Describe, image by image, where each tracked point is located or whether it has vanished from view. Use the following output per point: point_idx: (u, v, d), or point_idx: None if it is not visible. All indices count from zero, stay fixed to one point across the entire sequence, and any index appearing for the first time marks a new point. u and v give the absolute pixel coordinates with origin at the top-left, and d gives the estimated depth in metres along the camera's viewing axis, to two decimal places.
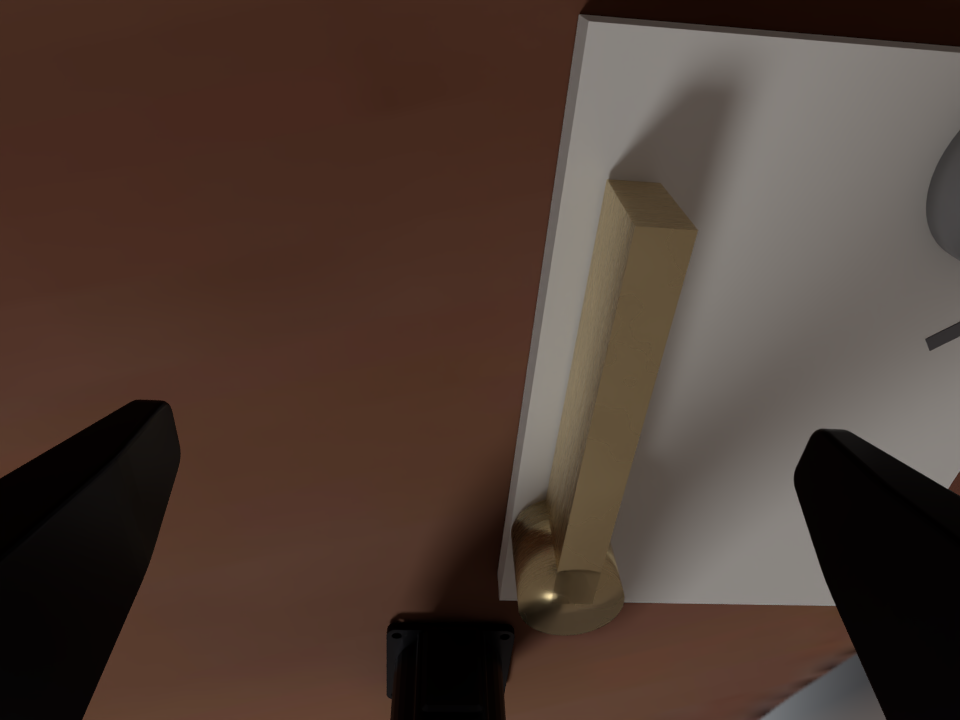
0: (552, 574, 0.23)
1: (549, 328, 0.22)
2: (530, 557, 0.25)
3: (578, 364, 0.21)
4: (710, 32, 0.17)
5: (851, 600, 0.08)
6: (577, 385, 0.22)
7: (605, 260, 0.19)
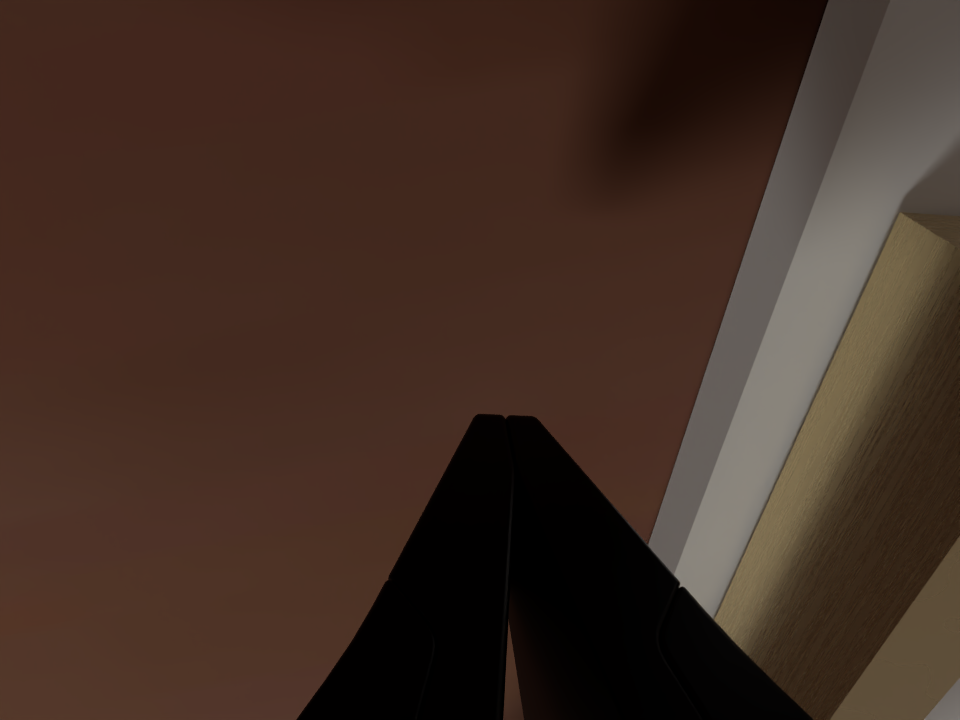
0: None
1: (728, 468, 0.12)
2: None
3: (787, 538, 0.12)
4: None
5: (509, 593, 0.08)
6: (785, 576, 0.12)
7: (905, 377, 0.09)
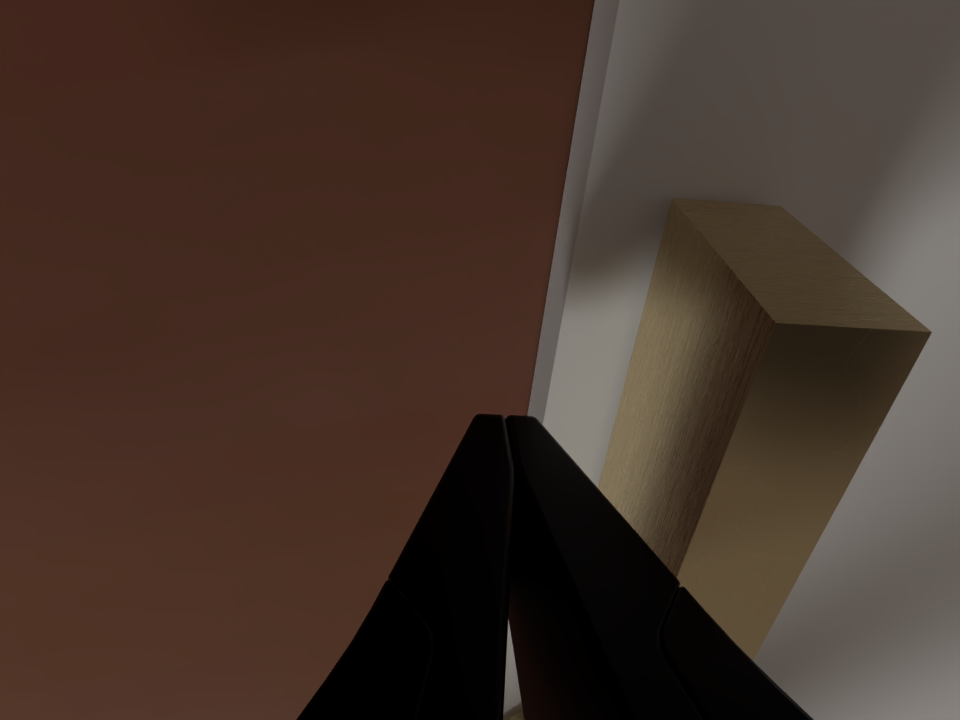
0: None
1: None
2: None
3: None
4: None
5: (510, 593, 0.08)
6: None
7: (670, 368, 0.09)
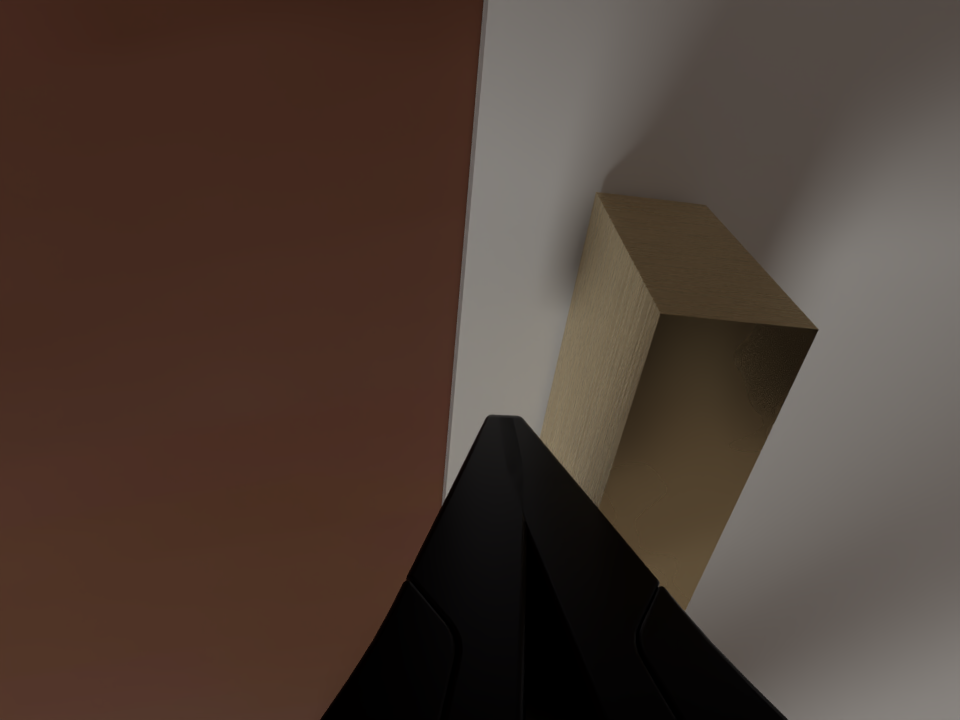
0: None
1: (464, 459, 0.12)
2: None
3: None
4: None
5: None
6: None
7: (586, 362, 0.09)
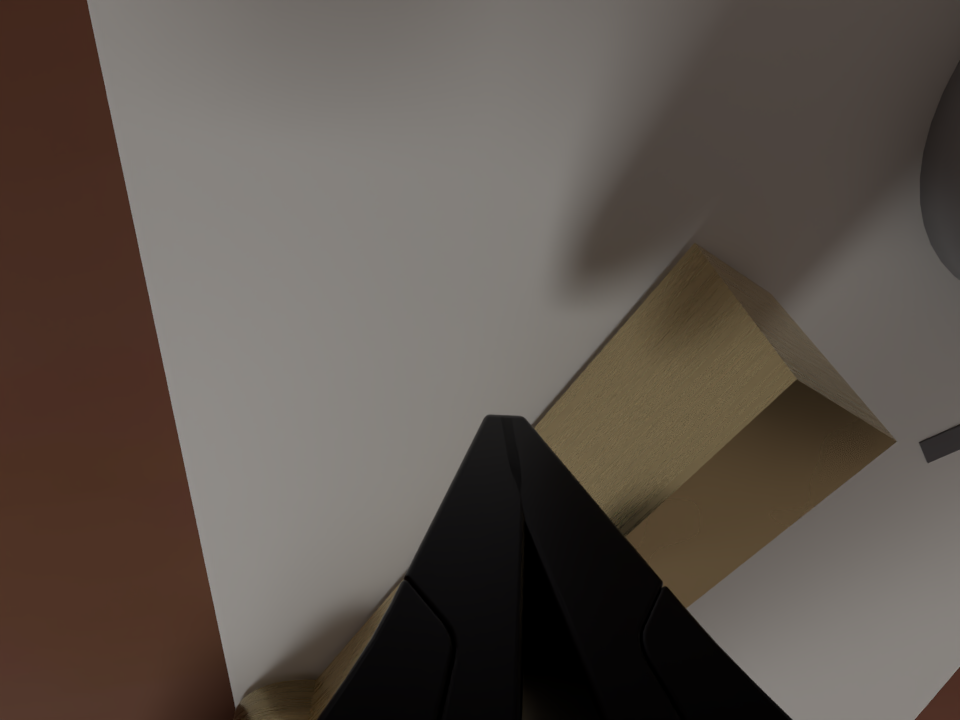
0: None
1: (190, 415, 0.11)
2: None
3: None
4: None
5: None
6: None
7: (637, 391, 0.09)
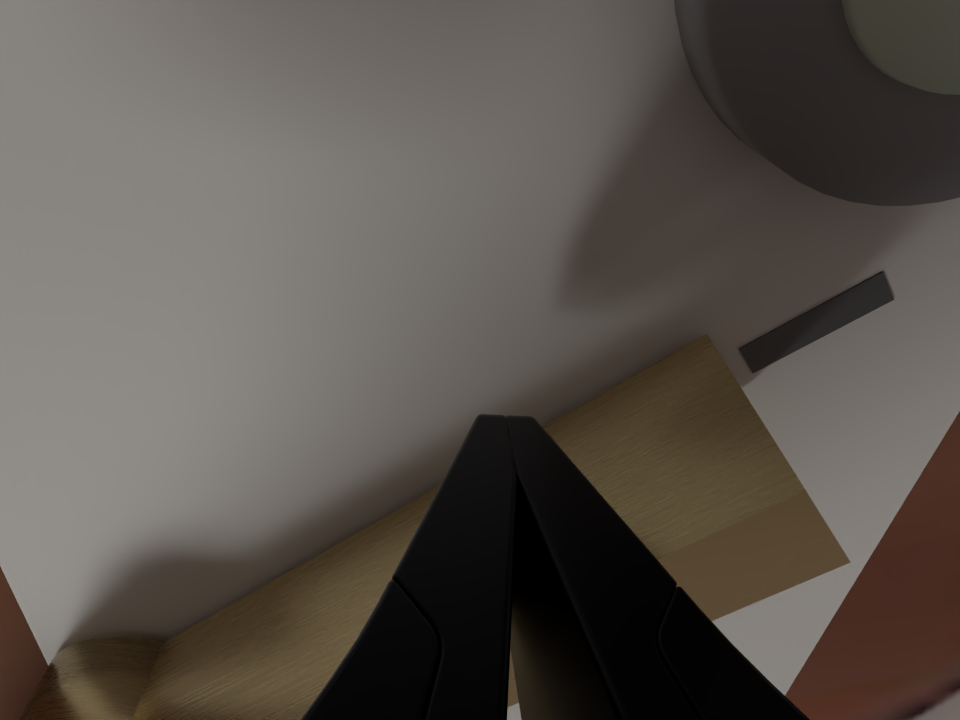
0: None
1: None
2: None
3: None
4: None
5: None
6: (389, 565, 0.11)
7: (627, 451, 0.10)
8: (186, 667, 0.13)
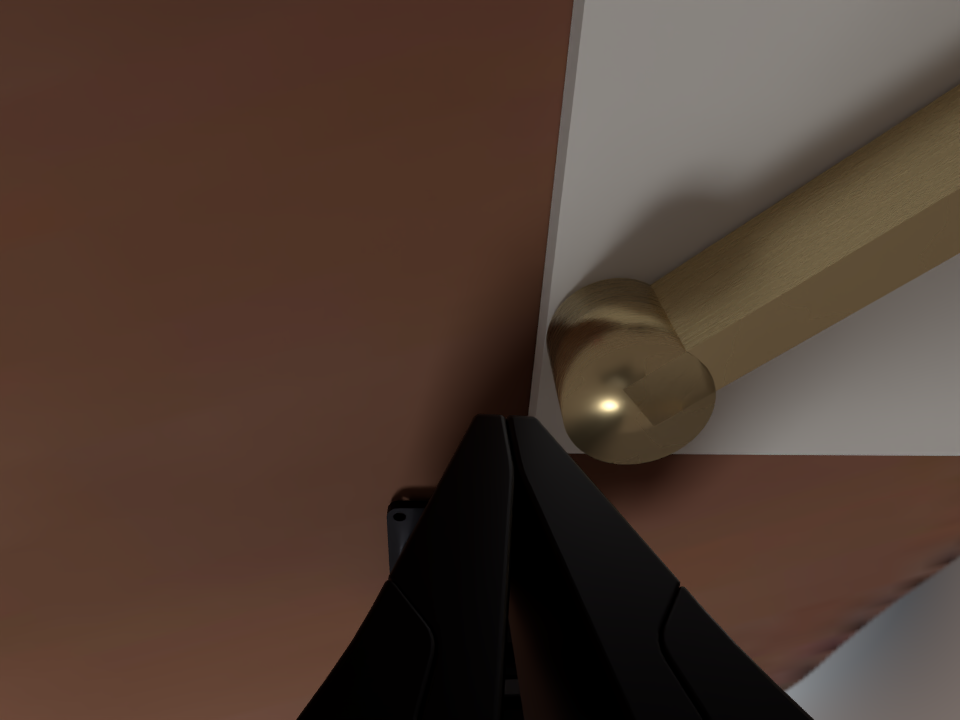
0: (678, 350, 0.16)
1: None
2: (639, 320, 0.17)
3: (919, 133, 0.16)
4: None
5: (510, 593, 0.08)
6: (903, 153, 0.16)
7: None
8: (703, 275, 0.18)
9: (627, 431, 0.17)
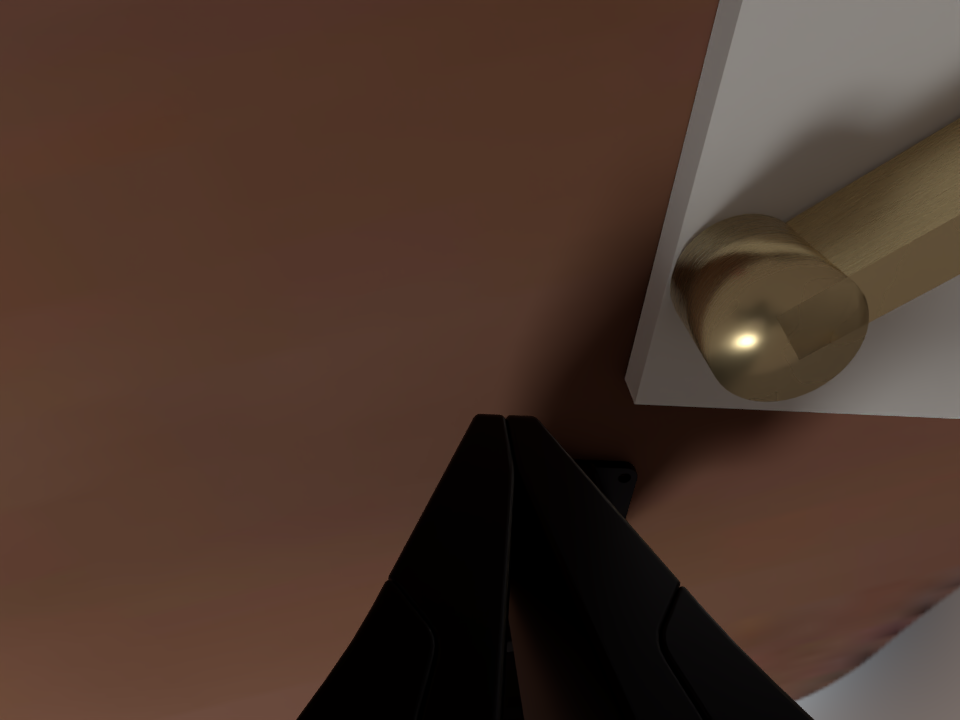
0: (840, 275, 0.16)
1: None
2: (792, 248, 0.16)
3: None
4: None
5: (510, 593, 0.08)
6: None
7: None
8: (850, 209, 0.17)
9: (771, 364, 0.17)
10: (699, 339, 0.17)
